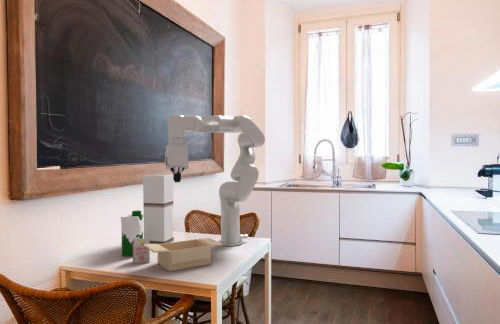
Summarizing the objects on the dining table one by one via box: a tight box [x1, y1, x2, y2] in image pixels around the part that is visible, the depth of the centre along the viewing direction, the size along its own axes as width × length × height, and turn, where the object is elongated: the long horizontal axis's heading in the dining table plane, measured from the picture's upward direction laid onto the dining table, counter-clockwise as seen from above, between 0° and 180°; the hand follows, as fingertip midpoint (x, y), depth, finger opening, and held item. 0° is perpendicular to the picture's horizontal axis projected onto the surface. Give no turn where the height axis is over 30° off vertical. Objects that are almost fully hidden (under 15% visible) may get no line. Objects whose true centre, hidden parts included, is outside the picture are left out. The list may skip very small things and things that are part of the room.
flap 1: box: [144, 244, 168, 253], centre depth 154 cm, size 1×13×6 cm
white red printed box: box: [132, 237, 151, 264], centre depth 164 cm, size 4×7×10 cm, turn 101°
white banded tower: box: [142, 174, 175, 244], centre depth 199 cm, size 11×11×35 cm
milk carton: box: [120, 209, 144, 258], centre depth 176 cm, size 9×9×20 cm
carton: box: [157, 238, 212, 273], centre depth 161 cm, size 18×15×8 cm
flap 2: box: [198, 237, 223, 247], centre depth 167 cm, size 1×13×6 cm
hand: (177, 181), depth 177 cm, fingers closed
